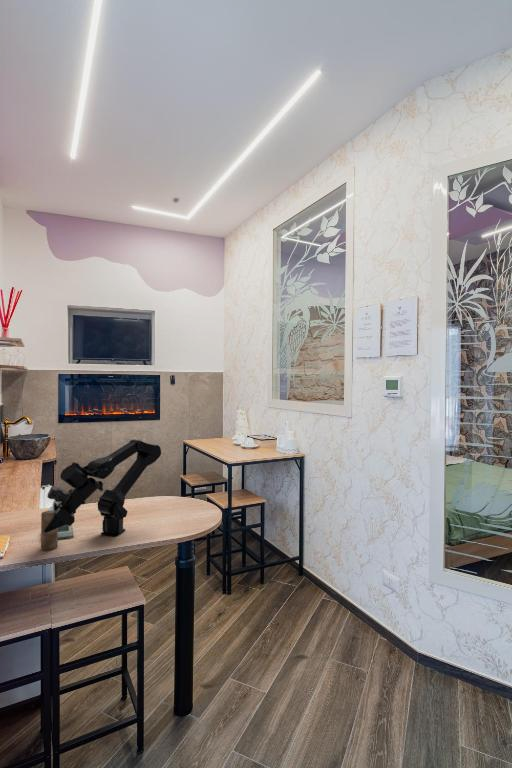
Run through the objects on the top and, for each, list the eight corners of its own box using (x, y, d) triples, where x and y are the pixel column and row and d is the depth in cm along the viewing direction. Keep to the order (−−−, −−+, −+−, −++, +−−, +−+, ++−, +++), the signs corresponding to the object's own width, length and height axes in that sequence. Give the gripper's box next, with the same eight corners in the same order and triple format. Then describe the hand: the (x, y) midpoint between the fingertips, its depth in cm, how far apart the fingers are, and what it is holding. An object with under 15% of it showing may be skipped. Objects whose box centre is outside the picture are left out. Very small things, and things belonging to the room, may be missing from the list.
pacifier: (41, 517, 173) (57, 516, 175) (41, 502, 173) (57, 501, 174) (45, 511, 180) (61, 510, 182) (45, 497, 180) (60, 495, 181)
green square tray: (72, 527, 162) (72, 522, 162) (73, 537, 153) (73, 531, 153) (42, 531, 158) (43, 526, 158) (42, 541, 149) (42, 535, 149)
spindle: (60, 545, 146) (61, 511, 145) (50, 551, 141) (51, 515, 141) (47, 544, 147) (48, 509, 147) (37, 550, 142) (38, 514, 142)
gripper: (62, 471, 153) (27, 505, 149) (63, 485, 136) (24, 523, 132) (85, 491, 157) (52, 525, 153) (89, 506, 140) (52, 545, 136)
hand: (44, 529), depth 143 cm, fingers closed on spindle, 5 cm apart
